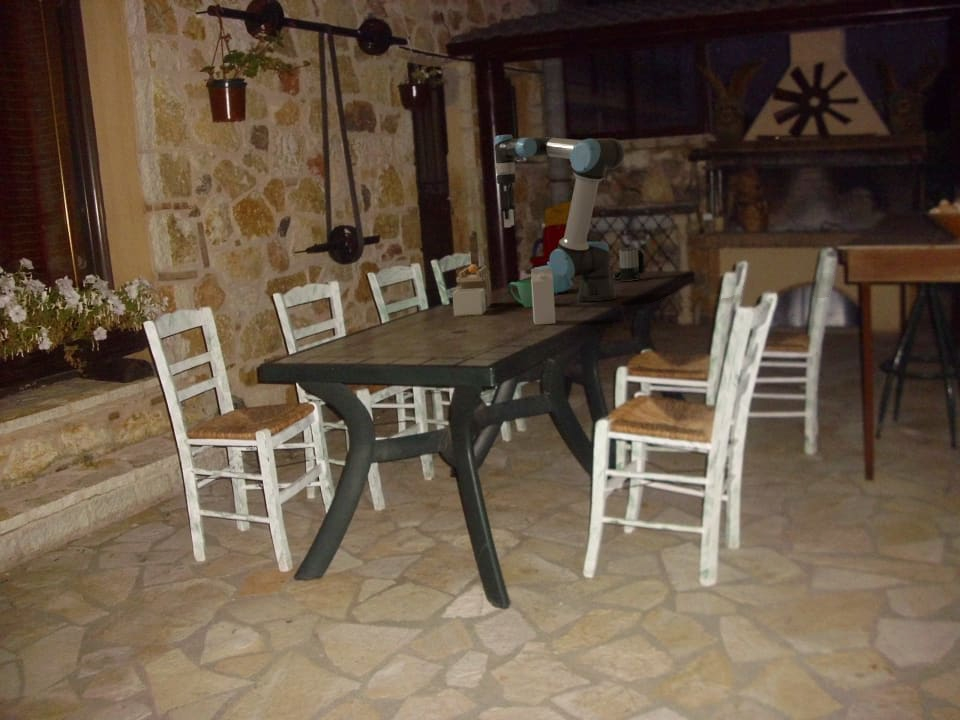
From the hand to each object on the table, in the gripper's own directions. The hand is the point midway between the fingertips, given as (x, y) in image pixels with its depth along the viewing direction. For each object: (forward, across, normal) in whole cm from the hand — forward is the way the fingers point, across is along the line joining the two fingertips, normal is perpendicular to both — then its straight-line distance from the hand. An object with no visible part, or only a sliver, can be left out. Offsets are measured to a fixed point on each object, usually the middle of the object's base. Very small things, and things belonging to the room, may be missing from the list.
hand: (509, 226), depth 395 cm
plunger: (+17, +13, -14) cm, 25 cm away
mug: (+31, +22, +6) cm, 38 cm away
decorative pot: (+31, -15, +15) cm, 38 cm away
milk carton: (+31, +66, +17) cm, 75 cm away
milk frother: (+31, -48, +47) cm, 74 cm away
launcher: (+31, +19, -14) cm, 39 cm away
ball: (+15, +18, -14) cm, 27 cm away
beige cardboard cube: (+31, +34, -14) cm, 48 cm away
